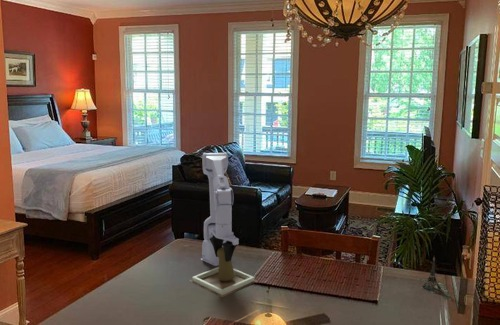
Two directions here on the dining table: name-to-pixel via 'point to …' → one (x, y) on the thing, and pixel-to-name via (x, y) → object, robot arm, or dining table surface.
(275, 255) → the dining table surface
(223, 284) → the board
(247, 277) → the walled square frame
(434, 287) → the eiffel tower figurine
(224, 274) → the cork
